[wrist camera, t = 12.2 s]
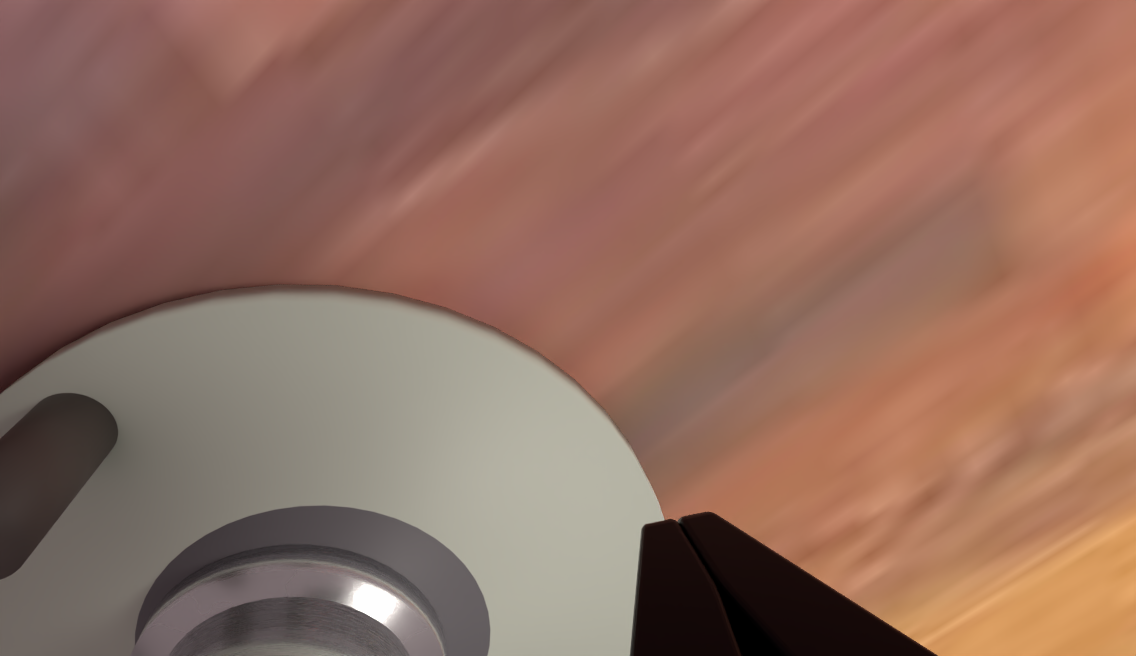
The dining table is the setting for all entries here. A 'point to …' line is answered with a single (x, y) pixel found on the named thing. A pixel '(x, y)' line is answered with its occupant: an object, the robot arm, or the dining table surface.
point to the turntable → (316, 470)
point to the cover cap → (293, 608)
